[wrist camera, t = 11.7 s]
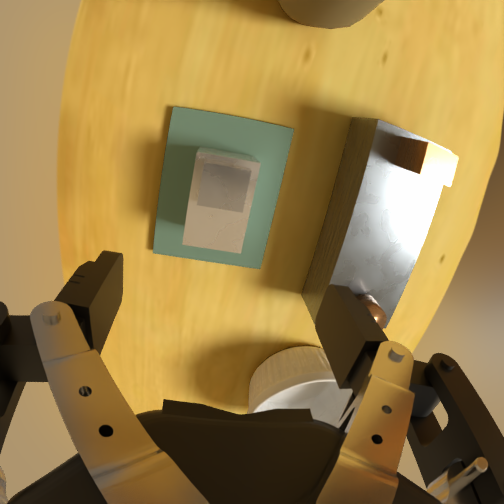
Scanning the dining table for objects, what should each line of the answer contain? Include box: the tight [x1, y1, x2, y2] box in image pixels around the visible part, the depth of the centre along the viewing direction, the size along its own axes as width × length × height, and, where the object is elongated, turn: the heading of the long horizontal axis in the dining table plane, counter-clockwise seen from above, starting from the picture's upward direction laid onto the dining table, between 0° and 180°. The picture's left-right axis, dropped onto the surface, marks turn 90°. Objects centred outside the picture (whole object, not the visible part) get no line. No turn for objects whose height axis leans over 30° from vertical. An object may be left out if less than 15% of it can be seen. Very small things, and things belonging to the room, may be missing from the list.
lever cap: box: [182, 147, 261, 254], centre depth 24 cm, size 7×4×5 cm, turn 169°
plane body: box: [301, 117, 459, 329], centre depth 25 cm, size 18×8×9 cm, turn 169°
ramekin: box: [247, 346, 353, 426], centre depth 34 cm, size 13×13×7 cm
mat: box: [153, 107, 294, 269], centre depth 26 cm, size 13×10×1 cm
